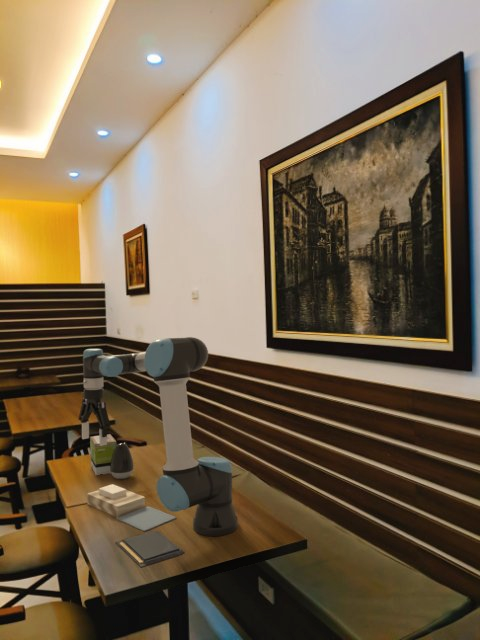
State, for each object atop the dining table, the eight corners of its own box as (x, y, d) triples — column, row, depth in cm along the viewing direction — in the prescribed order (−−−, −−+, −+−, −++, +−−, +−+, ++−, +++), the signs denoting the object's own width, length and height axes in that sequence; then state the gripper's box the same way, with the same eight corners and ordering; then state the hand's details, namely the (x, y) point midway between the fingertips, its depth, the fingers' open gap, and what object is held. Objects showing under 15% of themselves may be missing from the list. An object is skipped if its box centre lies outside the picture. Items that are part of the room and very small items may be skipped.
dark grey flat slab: (186, 549, 152) (138, 564, 144) (186, 556, 152) (138, 571, 144) (158, 526, 169) (114, 538, 160) (158, 532, 169) (114, 544, 160)
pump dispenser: (136, 473, 228) (136, 440, 228) (129, 481, 218) (129, 446, 218) (115, 473, 229) (114, 440, 229) (106, 481, 219) (106, 446, 219)
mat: (176, 518, 178) (176, 517, 178) (144, 531, 168) (144, 530, 168) (148, 507, 189) (148, 506, 189) (116, 519, 178) (116, 517, 178)
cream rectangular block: (126, 494, 191) (126, 489, 191) (112, 499, 187) (112, 493, 187) (112, 489, 197) (112, 484, 197) (99, 493, 193) (99, 488, 193)
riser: (145, 507, 188) (144, 497, 188) (117, 517, 179) (117, 506, 179) (114, 495, 202) (114, 485, 202) (87, 504, 193) (87, 493, 193)
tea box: (90, 466, 240) (89, 435, 239) (111, 463, 244) (111, 433, 244) (95, 476, 226) (94, 443, 226) (117, 472, 230) (117, 440, 230)
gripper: (69, 385, 204) (70, 437, 205) (101, 393, 187) (102, 450, 187) (86, 383, 210) (86, 434, 210) (119, 390, 192) (119, 446, 193)
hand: (94, 441), depth 199 cm, fingers open, 13 cm apart
